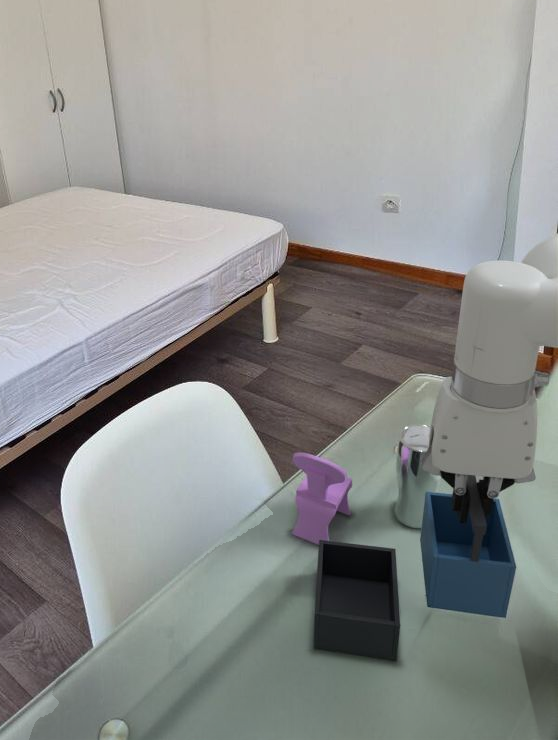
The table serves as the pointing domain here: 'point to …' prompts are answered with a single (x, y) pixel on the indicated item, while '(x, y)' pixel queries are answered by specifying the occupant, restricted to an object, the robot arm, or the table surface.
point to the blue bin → (466, 556)
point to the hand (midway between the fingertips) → (469, 514)
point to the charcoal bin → (357, 600)
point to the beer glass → (413, 475)
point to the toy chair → (319, 496)
